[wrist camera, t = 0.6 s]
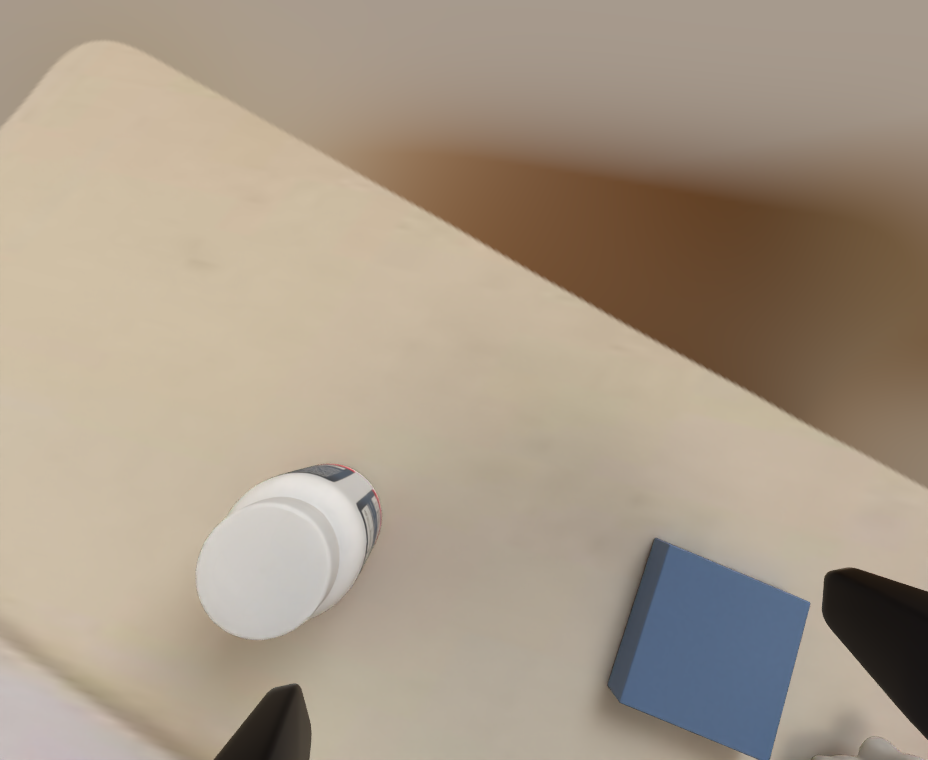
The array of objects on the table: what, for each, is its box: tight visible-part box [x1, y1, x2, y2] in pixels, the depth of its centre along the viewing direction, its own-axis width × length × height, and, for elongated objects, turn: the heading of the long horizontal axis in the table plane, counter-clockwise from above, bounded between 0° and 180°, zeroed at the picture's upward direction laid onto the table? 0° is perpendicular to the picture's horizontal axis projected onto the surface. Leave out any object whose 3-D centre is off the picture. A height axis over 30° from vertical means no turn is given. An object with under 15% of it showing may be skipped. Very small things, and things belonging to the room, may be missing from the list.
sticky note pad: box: [608, 538, 810, 760], centre depth 22 cm, size 8×8×2 cm
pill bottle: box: [196, 464, 382, 640], centre depth 17 cm, size 5×5×9 cm
